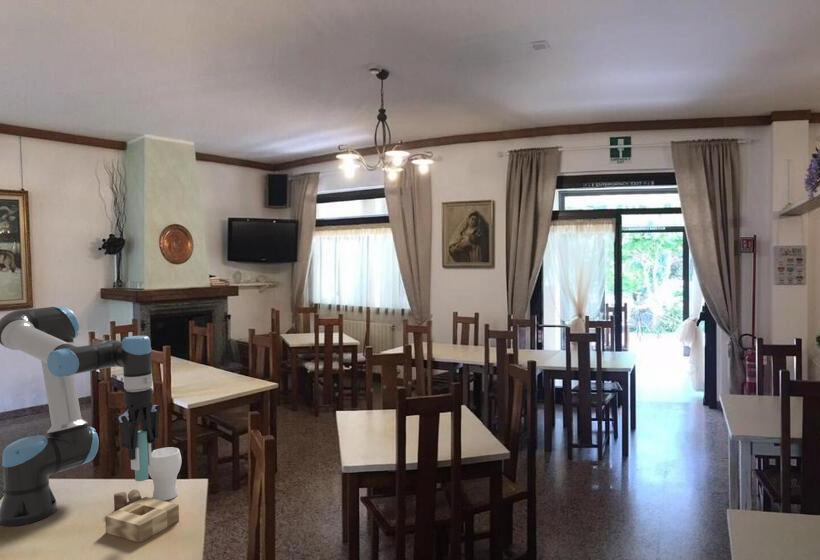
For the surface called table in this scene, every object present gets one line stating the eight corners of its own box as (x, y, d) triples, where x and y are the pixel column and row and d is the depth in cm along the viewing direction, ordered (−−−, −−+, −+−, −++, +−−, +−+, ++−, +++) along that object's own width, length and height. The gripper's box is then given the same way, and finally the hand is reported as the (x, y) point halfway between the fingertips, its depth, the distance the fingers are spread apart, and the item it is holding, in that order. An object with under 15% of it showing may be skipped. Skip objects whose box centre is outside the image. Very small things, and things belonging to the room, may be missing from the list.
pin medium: (138, 511, 179) (135, 502, 185) (145, 500, 180) (141, 492, 186) (128, 507, 177) (125, 498, 184) (135, 496, 178) (131, 488, 185)
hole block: (105, 532, 163) (105, 516, 163) (146, 512, 176) (145, 496, 176) (139, 542, 158) (139, 525, 157) (179, 520, 170) (178, 504, 170)
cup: (169, 504, 181) (168, 459, 181) (140, 501, 184) (139, 456, 183) (188, 490, 192) (187, 447, 191) (161, 488, 194) (160, 445, 193)
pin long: (132, 480, 165) (130, 433, 164) (142, 475, 168) (140, 429, 168) (141, 482, 164) (139, 434, 163) (151, 477, 167) (149, 431, 166)
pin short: (111, 511, 177) (111, 495, 177) (121, 506, 180) (121, 491, 180) (119, 513, 176) (119, 497, 175) (129, 508, 179) (129, 493, 179)
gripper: (122, 396, 156) (125, 479, 157) (170, 383, 171) (173, 459, 172) (104, 394, 159) (107, 475, 160) (152, 381, 174) (155, 455, 175)
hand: (141, 466), depth 166 cm, fingers closed on pin long, 3 cm apart
